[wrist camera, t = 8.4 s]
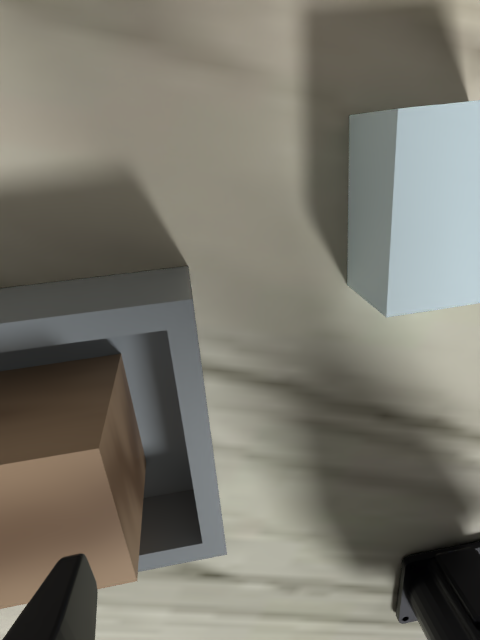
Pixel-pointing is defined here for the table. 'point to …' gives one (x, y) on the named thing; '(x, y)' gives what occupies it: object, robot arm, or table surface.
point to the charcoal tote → (136, 389)
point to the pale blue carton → (415, 207)
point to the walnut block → (68, 474)
